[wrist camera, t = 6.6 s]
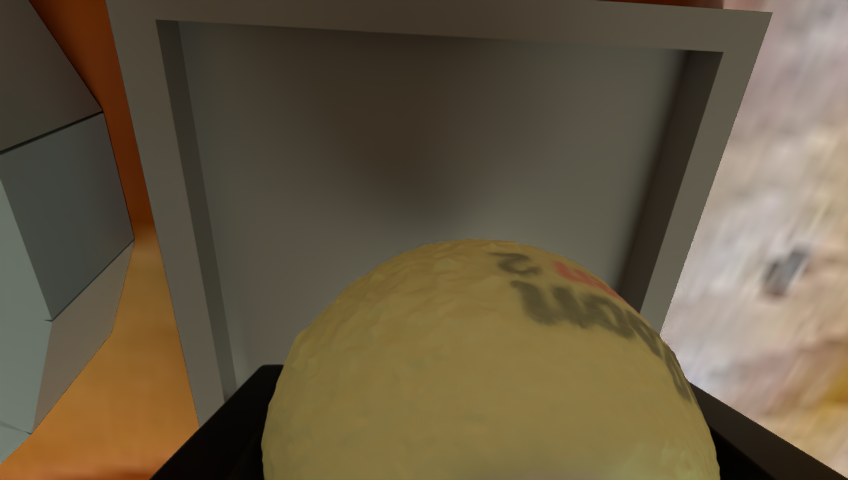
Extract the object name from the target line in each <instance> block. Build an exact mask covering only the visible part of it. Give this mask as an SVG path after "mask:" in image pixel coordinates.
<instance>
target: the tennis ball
mask: <svg viewBox="0 0 848 480" xmlns="http://www.w3.org/2000/svg"><path fill="white" fill-rule="evenodd" d="M261 449H262V452H263V458H262V462H263V472H264V480H720V475H719V470H720V467H719V465H718V462H717V459H716V450H715V445H714V443H713V440H712V437H711V434H710V430H709V427H708V426H707V424H706V422H705V419H704V417H703V414H702V412H701V409H700V406H699V405H698V403H697V400H696V398H695V396H694V393H693V391H692V389H691V386H690V384H689V382H688V380H687V379H686V378H685V376H684V373H683V371H682V370H681V367H680V364H679V362H678V360H677V358H676V355H675V353H674V352H673V351H672V350H671V349H670V347H669V346H668V345H667V344H666V343H665V342H664V341H663V340H662V339H661V337H660V335H659V333H658V332H657V331H656V330H654V329H653V328H652V327H651V325H650V324H649V323H648V322H647V321H646V320H645V319H644V318H643V317H642V316H641V315H640V314H639V313H638V312H637V311H636V310H635V309H634V308H632V307H631V306H630V305H629V304H628V303H627V302H626V301H625V300H624V299H623V298H622V297H620V296H619V295H618V294H617V293H616V292H615V291H614V290H612V289H611V288H610V287H609V286H608V285H607V284H606V283H605V282H604V281H603V280H602V279H600V278H599V277H597V276H596V275H594V274H592V273H591V272H590V271H588V270H587V269H585V268H583V267H582V266H581V265H579V264H577V263H575V262H573V261H572V260H570V259H567V258H566V257H564V256H560V255H558V254H554V253H551V252H548V251H545V250H542V249H540V248H538V247H536V246H532V245H527V244H518V243H517V242H514V241H504V240H488V239H461V240H457V241H446V242H438V243H436V244H429V245H422V246H420V247H419V248H417V249H414V250H410V251H407V252H403V253H401V254H400V255H396V256H394V257H393V258H392V259H390V260H389V261H386V262H384V263H382V264H379V265H378V266H377V267H376V268H375V269H373V270H372V271H370V272H369V273H368V274H367V275H365V276H362V277H359V278H357V279H356V280H355V282H353V283H351V284H350V285H349V286H348V287H347V288H346V289H344V290H343V291H342V292H341V293H340V294H339V296H338V297H337V298H336V299H335V300H334V301H333V302H332V303H331V304H330V305H329V306H328V307H327V308H326V309H324V310H323V311H322V313H321V314H320V315H319V316H318V317H317V318H316V319H315V320H314V321H313V322H312V324H311V325H310V326H309V327H308V328H306V329H304V330H302V331H301V332H300V333H299V334H298V335H297V337H296V338H295V340H294V342H293V344H292V347H291V350H290V352H289V354H288V356H287V359H286V360H285V363H284V367H283V369H282V372H281V374H280V376H279V378H278V382H277V383H276V389H275V392H274V395H273V397H272V399H271V401H270V403H269V405H268V412H267V418H266V422H265V427H264V432H263V436H262V442H261Z"/></svg>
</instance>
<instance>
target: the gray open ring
mask: <svg viewBox="0 0 848 480" xmlns="http://www.w3.org/2000/svg"><path fill="white" fill-rule="evenodd" d="M100 111H102V109H101V108H100V106H99V105H98V103H97V102H96V100H95V99H94V97H93V96H92V94H91V93H90V91H89V90H88V88H87V87H86V85H85V84H84V82H83V81H82V79H81V78H80V76H79V75H78V74H77V72H76V71H75V69H74V68H73V66H72V65H71V63H70V62H69V60H68V59H67V57H66V56H65V54H64V53H63V51H62V50H61V48H60V47H59V45H58V44H57V42H56V41H55V39H54V38H53V36H52V35H51V33H50V32H49V30H48V29H47V27H46V26H45V24H44V23H43V21H42V20H41V18H40V17H39V15H38V14H37V12H36V11H35V10H34V8H33V7H32V5H31V4H30V2H29V1H28V0H0V464H1V463H2V462H3V461H4V460H5V459H6V458H7V457H8V456H9V455H10V454H11V453H13V452H14V451H15V450H16V449H17V448H18V447H19V446H20V445H21V444H22V443H23V442H24V441H25V440H26V439H27V438H28V437H29V436H30V435H31V434H32V433H33V431H34V430H35V429H36V428H37V426H38V425H39V424H40V423H41V421H42V420H43V419H44V418H45V416H46V415H47V414H48V412H49V411H50V410H51V409H52V407H53V406H54V405H55V404H56V402H57V401H58V400H59V399H60V397H61V396H62V395H63V394H64V392H65V391H66V390H67V388H68V387H69V386H70V385H71V383H72V382H73V381H74V380H75V378H76V377H77V376H78V375H79V373H80V372H81V371H82V370H83V368H84V367H85V366H86V365H87V363H88V362H89V361H90V359H91V358H92V357H93V356H94V354H95V353H96V352H97V351H98V349H99V348H100V347H101V346H102V344H103V343H104V342H105V341H106V339H107V338H108V337H109V335H110V334H111V332H112V328H113V324H114V320H115V316H116V312H117V308H118V304H119V300H120V296H121V292H122V288H123V284H124V280H125V276H126V272H127V268H128V264H129V260H130V256H131V252H132V248H133V244H134V240H133V239H134V235H133V231H132V227H131V223H130V219H129V215H128V211H127V207H126V203H125V199H124V194H123V190H122V186H121V182H120V178H119V174H118V170H117V166H116V162H115V158H114V154H113V150H112V146H111V142H110V137H109V133H108V129H107V125H106V121H105V117H104V113H97V112H100Z"/></svg>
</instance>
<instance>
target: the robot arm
mask: <svg viewBox="0 0 848 480" xmlns="http://www.w3.org/2000/svg"><path fill="white" fill-rule="evenodd" d="M283 367H284V365H283V364H265V365H262V366H260V367H259V368H258V369H257V370H256V371H255V372H254V373H253V374H252V375H251V376H250V377H249V378H248V379H247V380H246V381H245V382H244V383H243V384H242V385H241V386H240V388H239V389H238V390H237V391H236V392H235V393H234V394H233V395H232V396H231V397H230V398H229V399H228V400H227V401H226V402H225V403H224V404H223V405H222V406H221V407H220V408H219V409H218V410H217V411H216V412H215V413H214V414H213V415H212V416H211V417H210V418H209V419H208V420H207V421H206V422H205V423H204V424H203V425H202V426H201V427H200V428H199V429H198V430H197V431H196V432H195V433H194V434H193V435H192V436H191V437H190V438H189V439H188V440H187V441H186V442H185V443H184V444H183V445H182V446H181V448H180V449H179V450H178V451H177V452H176V453H175V454H174V455H173V456H172V457H171V458H170V459H169V460H168V461H167V462H166V463H165V464H164V465H163V466H162V467H161V468H160V469H159V470H158V471H157V472H156V473H155V474H154V475H153V476H152V477H151V478H150V479H149V480H264V472H263V462H262V458H263V452H262V449H261V442H262V436H263V432H264V427H265V422H266V418H267V412H268V405H269V403H270V401H271V399H272V397H273V395H274V392H275V389H276V383H277V382H278V378H279V376H280V374H281V372H282V369H283ZM689 384H690V386H691V389H692V391H693V393H694V396H695V398H696V400H697V403H698V405H699V406H700V409H701V412H702V414H703V417H704V419H705V422H706V424H707V426H708V427H709V430H710V434H711V437H712V440H713V443H714V445H715V450H716V459H717V462H718V465H719V467H720V470H719V475H720V480H848V478H846V477H844V476H843V475H841V474H839V473H838V472H836V471H835V470H833V469H831V468H830V467H828V466H826V465H825V464H823V463H821V462H820V461H818V460H816V459H815V458H813V457H812V456H810V455H808V454H807V453H805V452H803V451H802V450H800V449H798V448H797V447H795V446H793V445H792V444H790V443H789V442H787V441H785V440H784V439H782V438H780V437H779V436H777V435H775V434H774V433H772V432H771V431H769V430H767V429H766V428H764V427H762V426H761V425H759V424H757V423H756V422H754V421H752V420H751V419H749V418H748V417H746V416H744V415H743V414H741V413H739V412H738V411H736V410H734V409H733V408H731V407H729V406H728V405H726V404H725V403H723V402H721V401H720V400H718V399H716V398H715V397H713V396H711V395H710V394H708V393H706V392H705V391H703V390H702V389H700V388H698V387H697V386H695V385H693V384H692V383H690V382H689Z"/></svg>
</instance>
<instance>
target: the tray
mask: <svg viewBox="0 0 848 480" xmlns="http://www.w3.org/2000/svg"><path fill="white" fill-rule="evenodd" d="M105 1H106V5H107V10H108V15H109V19H110V24H111V28H112V33H113V37H114V42H115V46H116V51H117V55H118V60H119V64H120V69H121V73H122V78H123V83H124V87H125V92H126V96H127V101H128V105H129V110H130V114H131V119H132V123H133V128H134V132H135V137H136V142H137V146H138V151H139V155H140V160H141V164H142V169H143V173H144V178H145V182H146V187H147V191H148V196H149V200H150V205H151V210H152V214H153V219H154V223H155V228H156V232H157V237H158V241H159V246H160V250H161V255H162V259H163V264H164V269H165V273H166V278H167V282H168V287H169V291H170V296H171V300H172V305H173V309H174V314H175V318H176V323H177V327H178V332H179V337H180V341H181V346H182V350H183V355H184V359H185V364H186V368H187V373H188V377H189V382H190V386H191V391H192V396H193V400H194V405H195V409H196V414H197V418H198V423H199V427H201V426H202V425H203V424H204V423H205V422H206V421H207V420H208V419H209V418H210V417H211V416H212V415H213V414H214V413H215V412H216V411H217V410H218V409H219V408H220V407H221V406H222V405H223V404H224V403H225V402H226V401H227V400H228V399H229V398H230V397H231V396H232V395H233V394H234V393H235V392H236V391H237V390H238V389H239V388H240V386H241V385H242V384H243V383H244V382H245V381H246V380H247V379H248V378H249V377H250V376H251V375H252V374H253V373H254V372H255V371H256V370H257V369H258V368H259V367H260V366H262V365H265V364H283V365H284V363H285V360H286V359H287V356H288V354H289V352H290V350H291V347H292V344H293V342H294V340H295V338H296V337H297V335H298V334H299V333H300V332H301V331H302V330H304V329H306V328H308V327H309V326H310V325H311V324H312V322H313V321H314V320H315V319H316V318H317V317H318V316H319V315H320V314H321V313H322V311H323V310H324V309H326V308H327V307H328V306H329V305H330V304H331V303H332V302H333V301H334V300H335V299H336V298H337V297H338V296H339V294H340V293H341V292H342V291H343V290H344V289H346V288H347V287H348V286H349V285H350V284H351V283H353V282H355V280H356V279H357V278H359V277H362V276H365V275H367V274H368V273H369V272H370V271H372V270H373V269H375V268H376V267H377V266H378V265H379V264H382V263H384V262H386V261H389V260H390V259H392V258H393V257H394V256H396V255H400V254H401V253H403V252H407V251H410V250H414V249H417V248H419V247H420V246H422V245H429V244H436V243H438V242H446V241H457V240H461V239H488V240H504V241H514V242H517V243H518V244H527V245H532V246H536V247H538V248H540V249H542V250H545V251H548V252H551V253H554V254H558V255H560V256H564V257H566V258H567V259H570V260H572V261H573V262H575V263H577V264H579V265H581V266H582V267H583V268H585V269H587V270H588V271H590V272H591V273H592V274H594V275H596V276H597V277H599V278H600V279H602V280H603V281H604V282H605V283H606V284H607V285H608V286H609V287H610V288H611V289H612V290H614V291H615V292H616V293H617V294H618V295H619V296H620V297H622V298H623V299H624V300H625V301H626V302H627V303H628V304H629V305H630V306H631V307H632V308H634V309H635V310H636V311H637V312H638V313H639V314H640V315H641V316H642V317H643V318H644V319H645V320H646V321H647V322H648V323H649V324H650V325H651V327H652V328H653V329H654V330H656V331H657V332H658V333H659V334H660V331H661V329H662V326H663V323H664V320H665V317H666V314H667V311H668V309H669V306H670V303H671V300H672V297H673V294H674V292H675V289H676V286H677V283H678V280H679V277H680V275H681V272H682V269H683V266H684V263H685V260H686V258H687V255H688V252H689V249H690V246H691V243H692V240H693V238H694V235H695V232H696V229H697V226H698V223H699V221H700V218H701V215H702V212H703V209H704V206H705V204H706V201H707V198H708V195H709V192H710V189H711V187H712V184H713V181H714V178H715V175H716V172H717V170H718V167H719V164H720V161H721V158H722V155H723V152H724V150H725V147H726V144H727V141H728V138H729V135H730V133H731V130H732V127H733V124H734V121H735V118H736V116H737V113H738V110H739V107H740V104H741V101H742V99H743V96H744V93H745V90H746V87H747V84H748V82H749V79H750V76H751V73H752V70H753V67H754V64H755V62H756V59H757V56H758V53H759V50H760V47H761V45H762V42H763V39H764V36H765V33H766V30H767V28H768V25H769V22H770V19H771V16H772V13H773V12H759V11H744V10H730V9H715V8H700V7H686V6H671V5H657V4H642V3H627V2H613V1H598V0H105Z"/></svg>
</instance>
